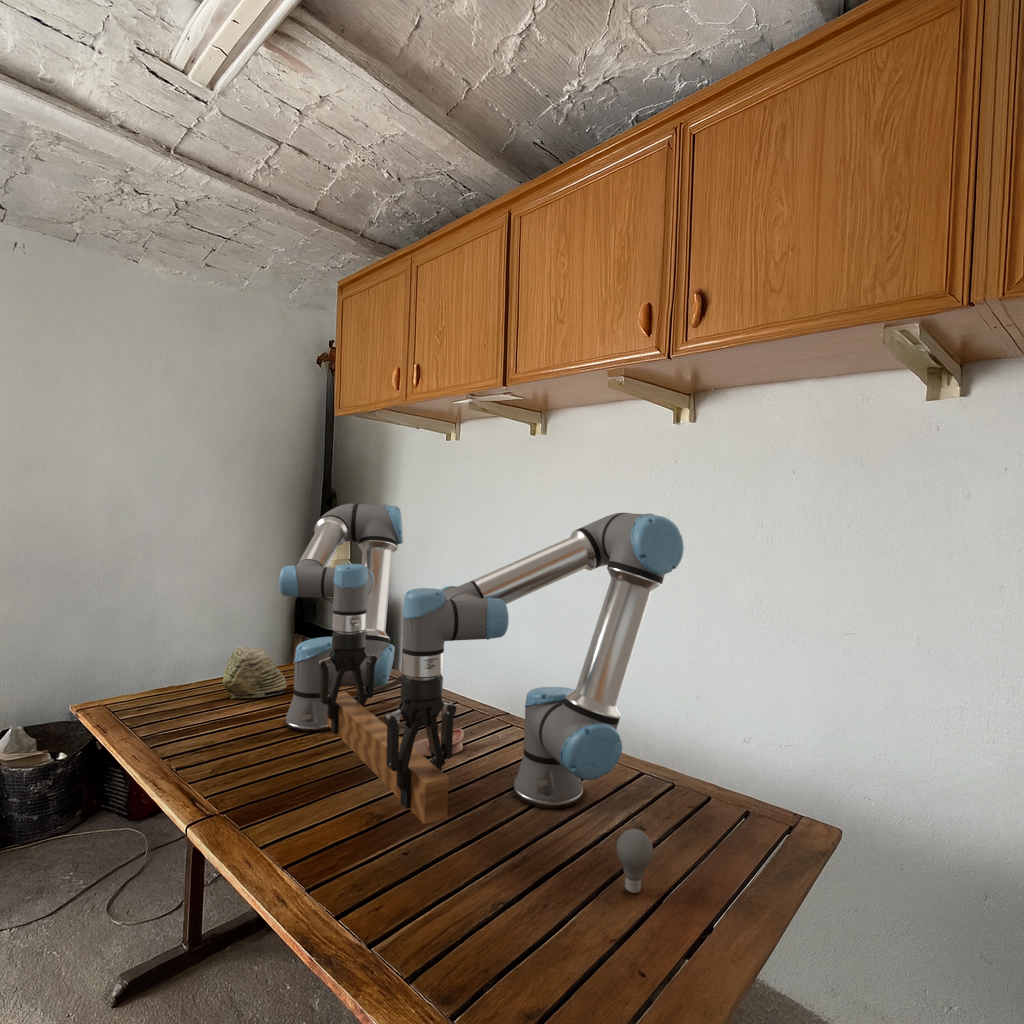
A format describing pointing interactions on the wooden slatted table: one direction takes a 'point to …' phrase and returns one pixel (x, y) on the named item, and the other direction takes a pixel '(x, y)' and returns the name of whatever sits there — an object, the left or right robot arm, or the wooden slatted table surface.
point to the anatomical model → (424, 748)
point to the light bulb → (634, 857)
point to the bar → (371, 748)
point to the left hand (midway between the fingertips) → (345, 729)
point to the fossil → (252, 674)
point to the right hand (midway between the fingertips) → (418, 801)
